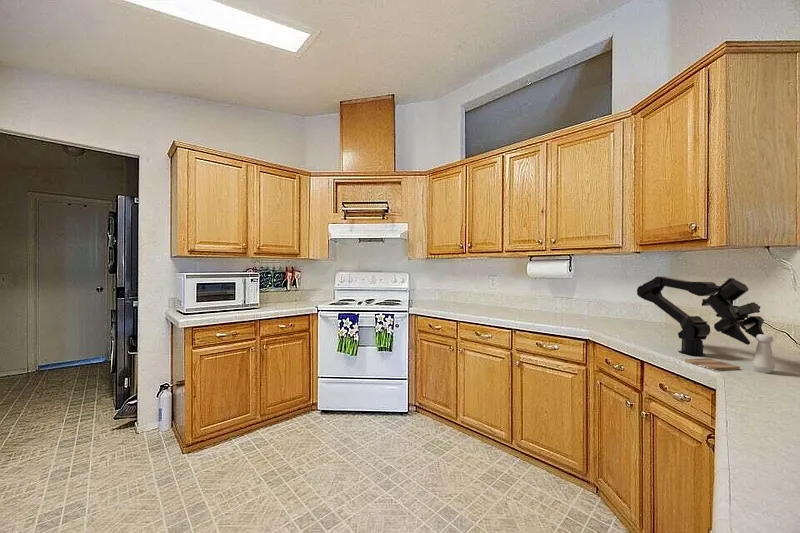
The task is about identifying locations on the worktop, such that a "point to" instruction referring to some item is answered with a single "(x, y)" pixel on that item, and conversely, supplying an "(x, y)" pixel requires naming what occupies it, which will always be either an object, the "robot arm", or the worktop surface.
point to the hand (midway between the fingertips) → (757, 343)
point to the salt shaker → (763, 354)
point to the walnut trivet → (713, 364)
